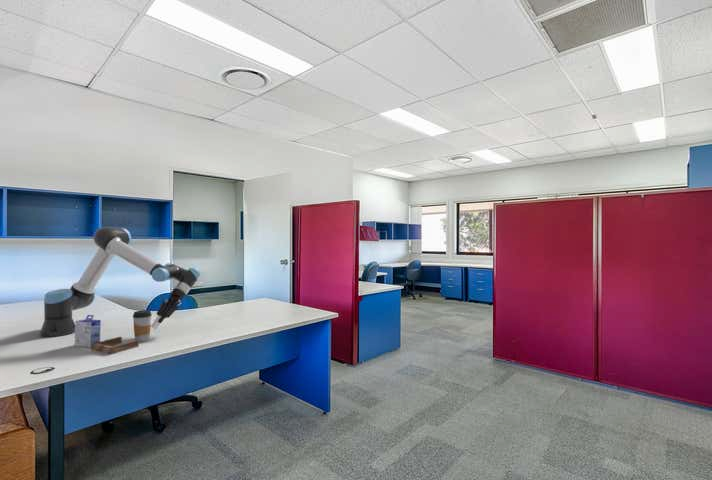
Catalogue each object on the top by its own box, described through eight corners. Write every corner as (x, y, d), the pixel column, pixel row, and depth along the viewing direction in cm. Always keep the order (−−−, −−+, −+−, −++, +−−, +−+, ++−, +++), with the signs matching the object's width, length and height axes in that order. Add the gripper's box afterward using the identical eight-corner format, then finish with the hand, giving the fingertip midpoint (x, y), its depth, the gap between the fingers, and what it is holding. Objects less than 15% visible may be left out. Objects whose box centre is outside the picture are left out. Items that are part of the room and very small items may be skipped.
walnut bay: (91, 350, 167) (91, 343, 167) (119, 342, 179) (119, 336, 179) (111, 354, 162) (111, 347, 162) (138, 346, 174) (138, 340, 174)
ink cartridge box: (101, 344, 176) (101, 315, 176) (90, 347, 171) (91, 317, 171) (84, 342, 178) (84, 313, 178) (74, 346, 173) (74, 316, 173)
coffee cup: (155, 339, 185) (155, 310, 185) (140, 343, 178) (141, 314, 177) (143, 337, 188) (143, 309, 188) (128, 342, 180) (128, 312, 180)
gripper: (192, 296, 203) (166, 332, 188) (175, 294, 208) (149, 329, 193) (184, 288, 198) (157, 325, 183) (168, 286, 203) (140, 322, 188)
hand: (153, 327), depth 188 cm, fingers closed
